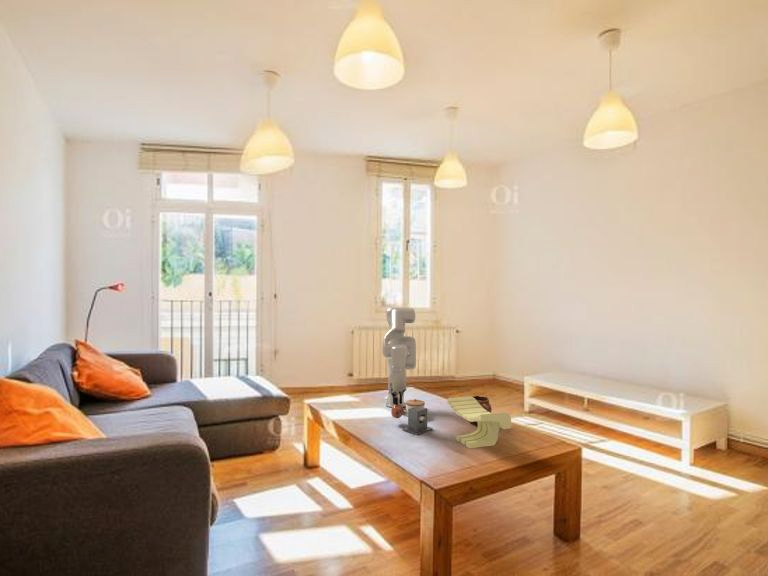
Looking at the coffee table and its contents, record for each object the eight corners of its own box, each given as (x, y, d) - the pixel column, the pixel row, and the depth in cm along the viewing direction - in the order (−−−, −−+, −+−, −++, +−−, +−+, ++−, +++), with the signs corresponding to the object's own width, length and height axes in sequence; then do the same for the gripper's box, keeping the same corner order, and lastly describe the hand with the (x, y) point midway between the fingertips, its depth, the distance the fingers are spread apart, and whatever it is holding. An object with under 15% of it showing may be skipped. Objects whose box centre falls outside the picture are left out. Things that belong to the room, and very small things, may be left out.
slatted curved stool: (510, 450, 203) (511, 411, 203) (480, 455, 197) (480, 414, 197) (474, 430, 231) (475, 395, 231) (447, 433, 226) (447, 398, 225)
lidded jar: (421, 419, 248) (422, 402, 248) (403, 417, 252) (403, 400, 252) (426, 414, 258) (426, 397, 258) (408, 412, 262) (408, 396, 262)
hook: (390, 418, 238) (391, 394, 238) (400, 416, 243) (400, 392, 243) (418, 427, 224) (419, 401, 224) (427, 424, 229) (428, 399, 229)
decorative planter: (499, 428, 234) (500, 401, 234) (479, 430, 230) (479, 403, 230) (479, 417, 253) (479, 392, 253) (460, 419, 249) (460, 394, 249)
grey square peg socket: (402, 430, 229) (402, 408, 229) (418, 425, 237) (418, 404, 237) (417, 435, 222) (417, 413, 222) (432, 430, 230) (433, 408, 230)
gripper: (403, 366, 248) (402, 399, 248) (382, 370, 237) (381, 405, 237) (413, 368, 243) (412, 402, 243) (392, 372, 231) (391, 408, 232)
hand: (397, 403), depth 240 cm, fingers closed on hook, 2 cm apart
